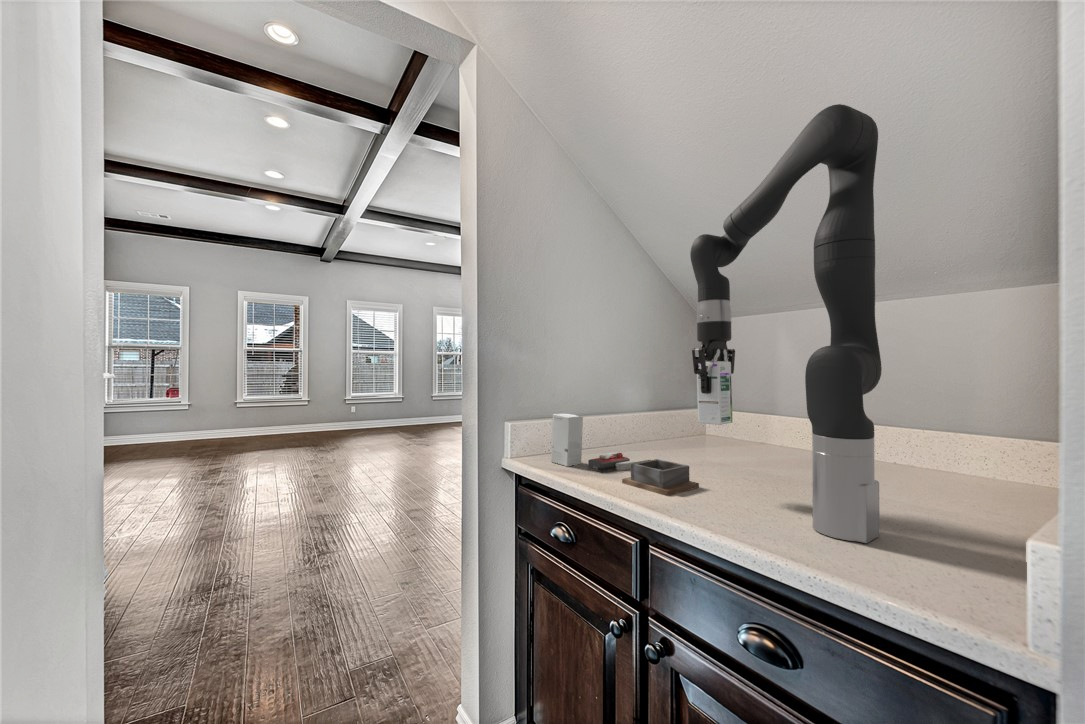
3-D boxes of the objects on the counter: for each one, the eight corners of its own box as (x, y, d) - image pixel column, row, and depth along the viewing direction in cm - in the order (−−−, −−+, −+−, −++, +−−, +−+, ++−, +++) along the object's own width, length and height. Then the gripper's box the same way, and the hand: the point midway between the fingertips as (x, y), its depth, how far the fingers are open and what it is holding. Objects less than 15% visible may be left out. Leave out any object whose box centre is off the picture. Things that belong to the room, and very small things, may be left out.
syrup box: (720, 425, 101) (720, 360, 101) (696, 423, 105) (696, 361, 106) (732, 423, 105) (732, 360, 105) (709, 420, 109) (708, 361, 109)
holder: (698, 487, 110) (698, 466, 110) (667, 495, 103) (667, 473, 103) (653, 475, 121) (653, 457, 121) (622, 482, 114) (622, 463, 114)
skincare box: (550, 462, 138) (550, 414, 138) (565, 459, 142) (565, 412, 142) (568, 467, 132) (568, 416, 132) (583, 464, 135) (583, 415, 135)
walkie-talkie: (604, 476, 123) (653, 466, 134) (604, 459, 123) (653, 451, 134) (583, 469, 130) (631, 461, 141) (583, 454, 130) (631, 447, 141)
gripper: (710, 317, 98) (710, 395, 98) (745, 321, 106) (746, 392, 106) (681, 320, 104) (681, 393, 104) (717, 324, 113) (717, 391, 112)
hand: (714, 392), depth 105 cm, fingers closed on syrup box, 6 cm apart
